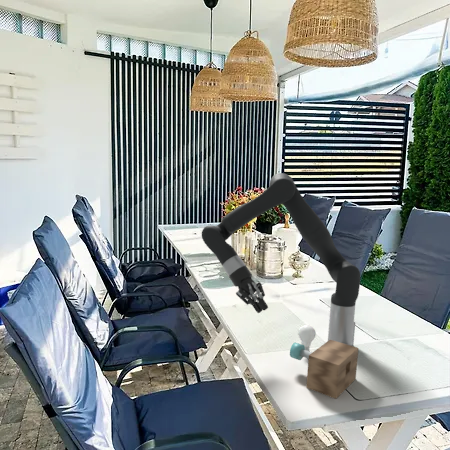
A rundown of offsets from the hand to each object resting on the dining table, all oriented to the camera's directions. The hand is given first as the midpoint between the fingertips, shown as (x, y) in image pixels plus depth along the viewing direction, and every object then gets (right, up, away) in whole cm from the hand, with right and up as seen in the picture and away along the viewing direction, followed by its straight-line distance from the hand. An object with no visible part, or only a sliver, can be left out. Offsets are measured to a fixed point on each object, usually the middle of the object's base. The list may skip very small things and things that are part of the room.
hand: (263, 310), depth 158 cm
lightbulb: (+16, -18, +8) cm, 25 cm away
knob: (+16, -16, -10) cm, 25 cm away
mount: (+20, -21, -13) cm, 32 cm away
